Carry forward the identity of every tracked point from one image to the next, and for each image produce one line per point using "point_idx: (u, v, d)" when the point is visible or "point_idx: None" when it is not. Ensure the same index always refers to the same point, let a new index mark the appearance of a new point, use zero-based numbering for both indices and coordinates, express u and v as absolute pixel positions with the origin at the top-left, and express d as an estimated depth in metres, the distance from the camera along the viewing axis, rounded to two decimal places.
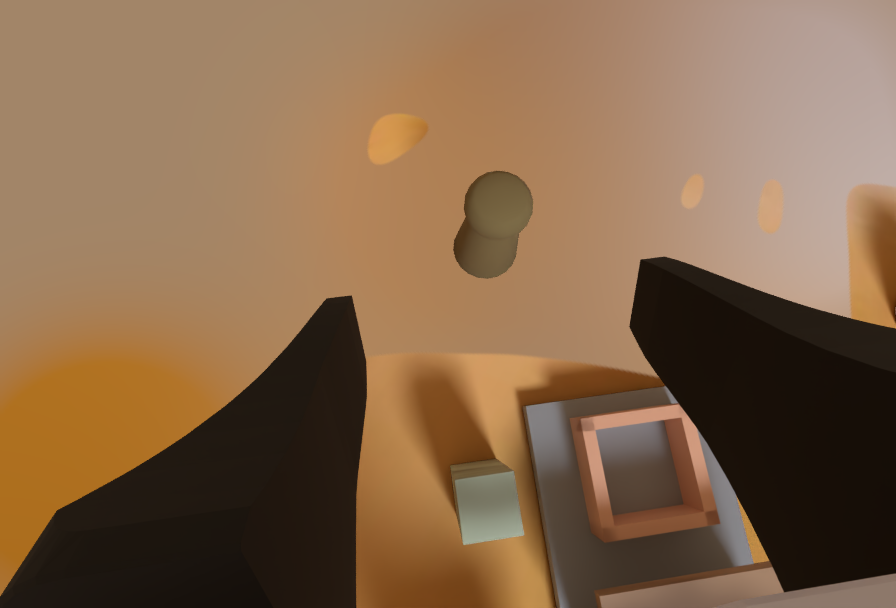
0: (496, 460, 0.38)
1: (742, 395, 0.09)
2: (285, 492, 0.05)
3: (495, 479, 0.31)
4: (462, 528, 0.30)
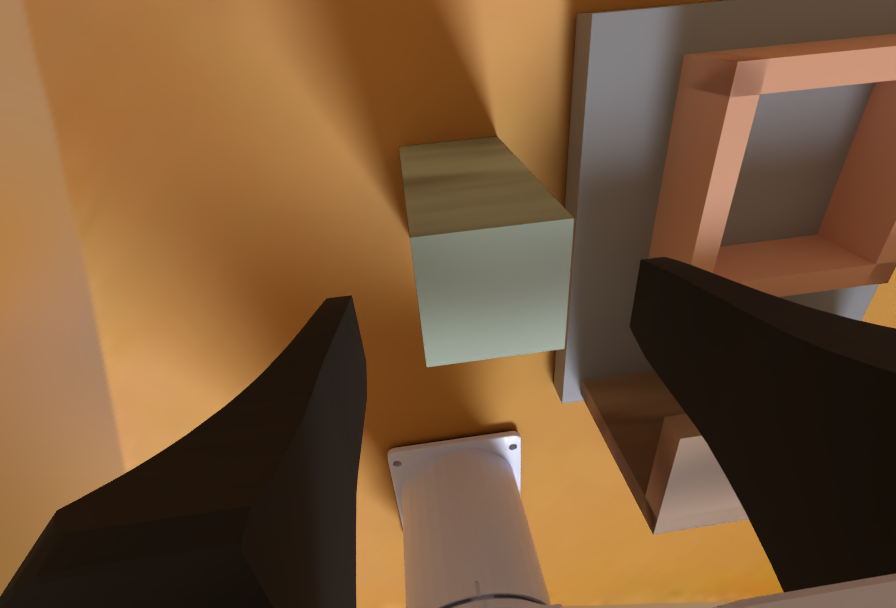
0: (500, 145, 0.18)
1: (742, 395, 0.09)
2: (285, 492, 0.05)
3: (521, 239, 0.11)
4: (426, 339, 0.13)
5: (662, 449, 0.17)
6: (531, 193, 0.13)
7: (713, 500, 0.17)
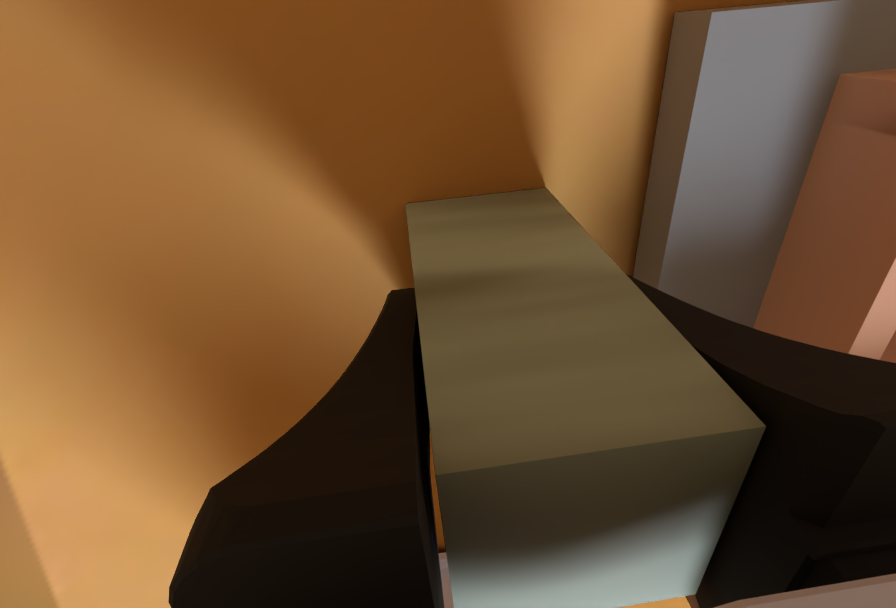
0: (556, 207, 0.12)
1: None
2: (419, 472, 0.05)
3: (657, 462, 0.06)
4: (459, 604, 0.07)
5: None
6: (646, 333, 0.07)
7: None
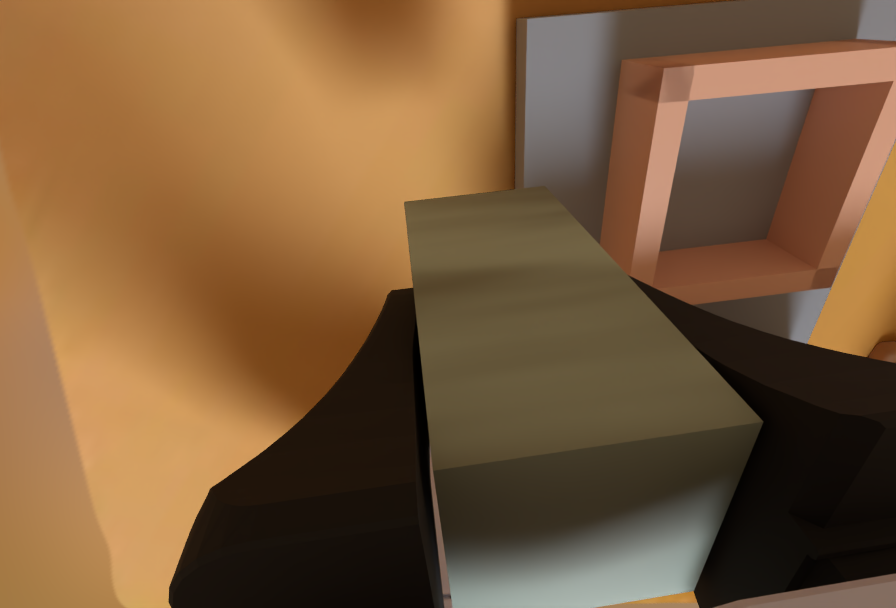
0: (555, 205, 0.12)
1: None
2: (419, 472, 0.05)
3: (654, 458, 0.06)
4: (457, 600, 0.07)
5: None
6: (644, 329, 0.07)
7: None
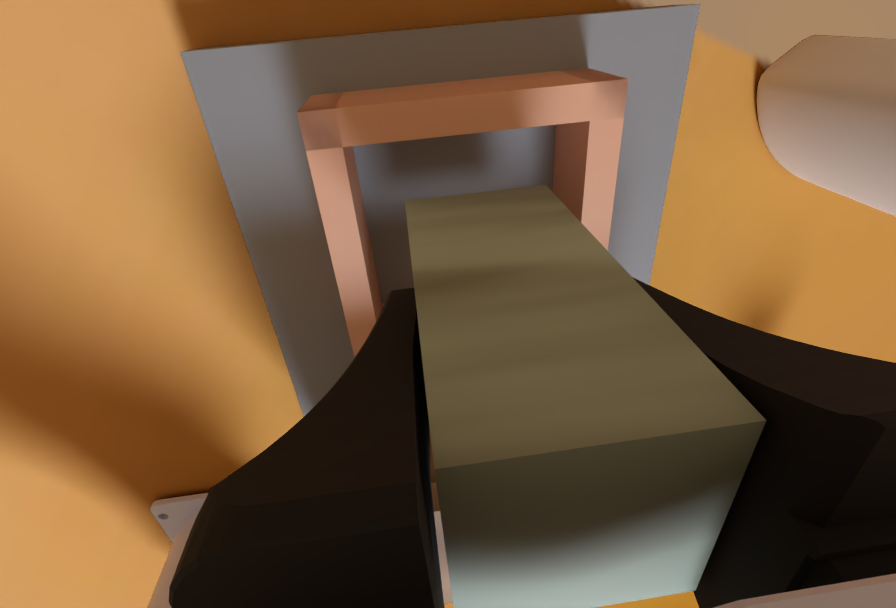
0: (556, 203, 0.12)
1: None
2: (419, 472, 0.05)
3: (656, 457, 0.06)
4: (458, 600, 0.07)
5: None
6: (645, 328, 0.07)
7: None
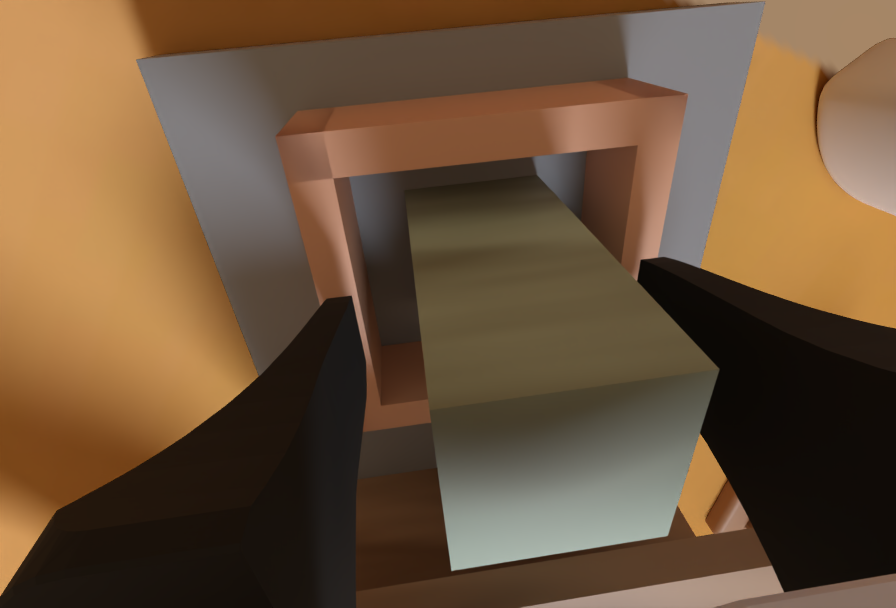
0: (546, 192, 0.13)
1: (742, 395, 0.09)
2: (285, 492, 0.05)
3: (624, 402, 0.06)
4: (452, 539, 0.08)
5: None
6: (620, 297, 0.08)
7: None
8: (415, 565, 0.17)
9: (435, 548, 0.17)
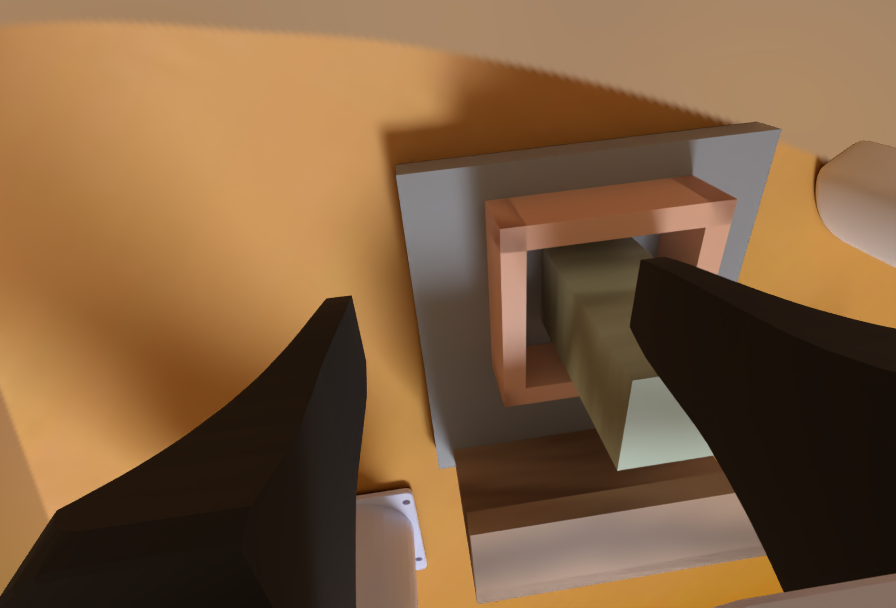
0: (640, 249, 0.20)
1: (742, 395, 0.09)
2: (285, 492, 0.05)
3: None
4: (623, 451, 0.15)
5: (469, 538, 0.20)
6: None
7: (521, 577, 0.20)
8: (534, 502, 0.24)
9: (545, 491, 0.25)
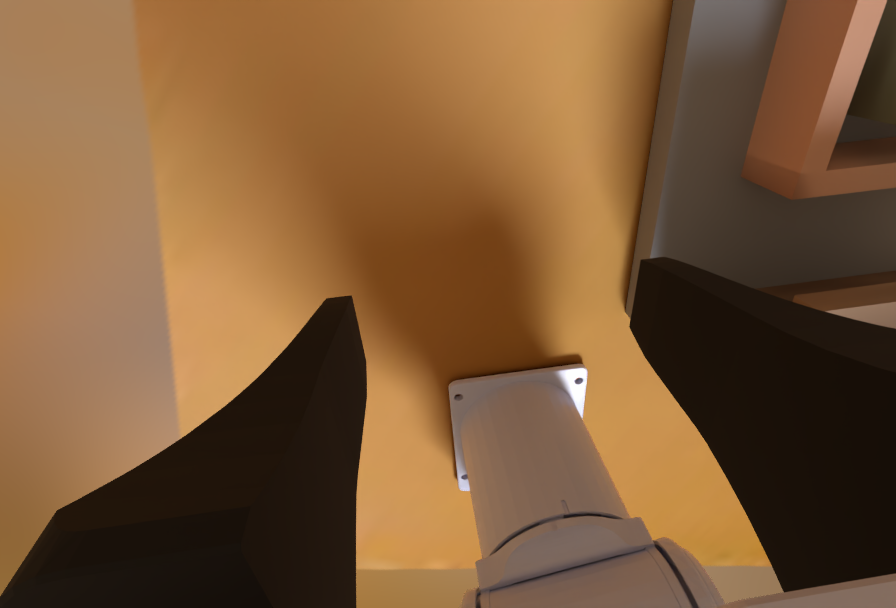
0: None
1: (742, 395, 0.09)
2: (285, 492, 0.05)
3: None
4: None
5: None
6: None
7: None
8: None
9: None
